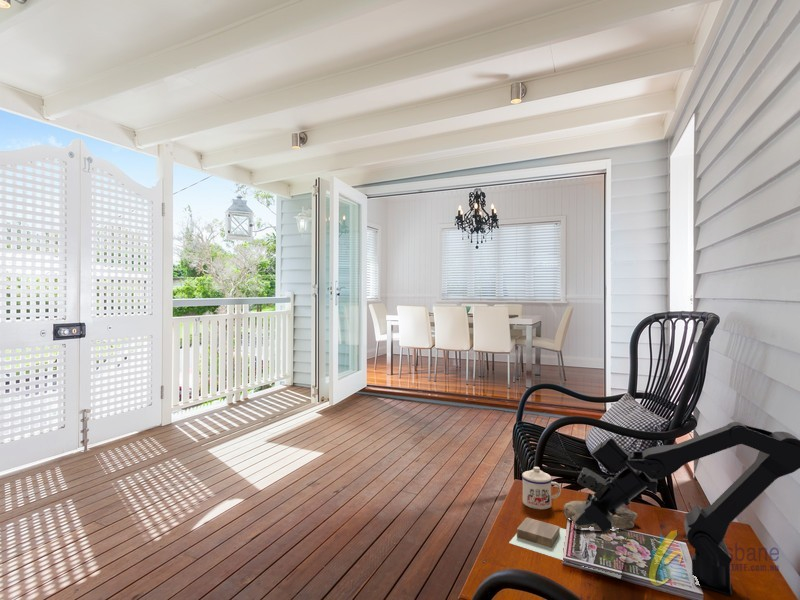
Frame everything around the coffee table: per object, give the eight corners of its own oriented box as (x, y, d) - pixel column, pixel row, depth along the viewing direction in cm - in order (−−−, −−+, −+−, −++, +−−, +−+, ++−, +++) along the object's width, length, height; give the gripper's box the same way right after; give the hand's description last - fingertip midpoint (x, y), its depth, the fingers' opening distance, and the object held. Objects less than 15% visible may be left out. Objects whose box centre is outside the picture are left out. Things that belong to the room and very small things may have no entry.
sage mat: (629, 549, 108) (629, 547, 108) (620, 581, 95) (620, 578, 95) (528, 521, 123) (528, 519, 123) (508, 545, 110) (508, 542, 110)
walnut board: (559, 526, 114) (526, 517, 119) (551, 539, 108) (516, 528, 113) (559, 534, 114) (526, 525, 119) (551, 547, 108) (516, 537, 113)
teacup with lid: (525, 510, 130) (525, 472, 130) (519, 498, 139) (519, 462, 139) (565, 512, 129) (565, 473, 129) (556, 499, 138) (556, 463, 138)
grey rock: (624, 513, 129) (558, 510, 130) (624, 497, 129) (558, 494, 130) (649, 538, 115) (575, 534, 116) (650, 520, 115) (575, 517, 116)
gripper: (600, 450, 115) (558, 484, 120) (593, 471, 99) (545, 510, 103) (634, 485, 110) (590, 519, 115) (633, 513, 94) (581, 551, 99)
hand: (576, 523), depth 108 cm, fingers closed
